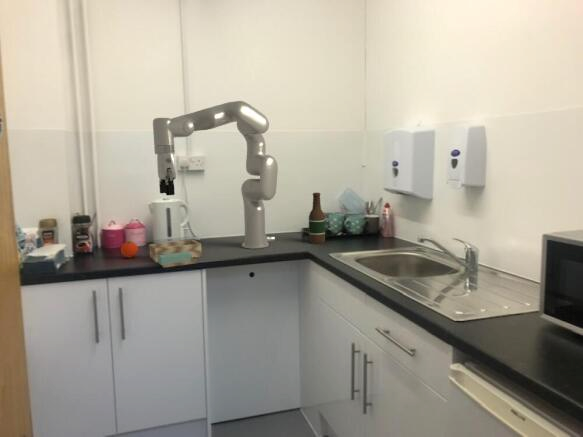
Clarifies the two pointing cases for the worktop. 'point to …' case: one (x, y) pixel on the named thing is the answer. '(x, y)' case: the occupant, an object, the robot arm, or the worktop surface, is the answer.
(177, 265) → the cork trivet
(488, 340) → the worktop surface
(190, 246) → the woven basket
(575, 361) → the worktop surface
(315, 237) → the beer bottle
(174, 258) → the teal block
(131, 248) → the clementine
